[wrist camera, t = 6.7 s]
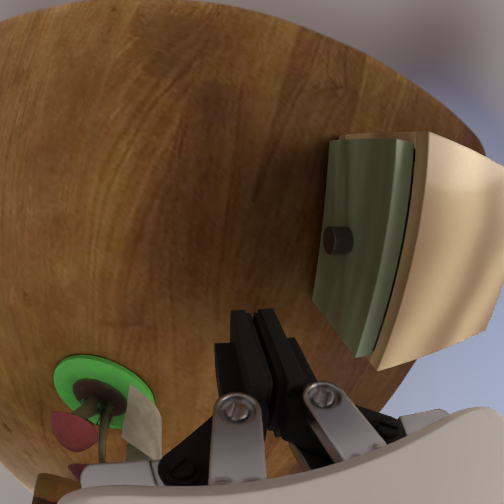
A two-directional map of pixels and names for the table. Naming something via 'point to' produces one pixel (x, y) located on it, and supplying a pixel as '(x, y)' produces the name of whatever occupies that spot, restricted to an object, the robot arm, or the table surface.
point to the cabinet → (444, 251)
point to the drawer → (362, 235)
